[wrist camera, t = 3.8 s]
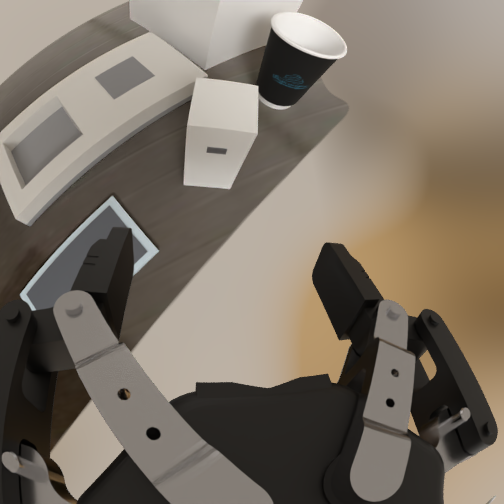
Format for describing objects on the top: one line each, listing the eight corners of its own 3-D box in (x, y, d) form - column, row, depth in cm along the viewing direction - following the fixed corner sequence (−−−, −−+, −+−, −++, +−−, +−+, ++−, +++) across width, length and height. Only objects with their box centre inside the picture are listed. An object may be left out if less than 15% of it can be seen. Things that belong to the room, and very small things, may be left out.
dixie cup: (264, 126, 28) (302, 58, 17) (232, 79, 28) (255, 11, 17) (316, 113, 30) (362, 57, 20) (284, 70, 30) (317, 12, 20)
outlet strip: (30, 226, 20) (15, 218, 17) (-1, 156, 19) (-13, 145, 16) (204, 92, 27) (208, 74, 24) (150, 47, 26) (150, 31, 23)
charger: (229, 190, 26) (257, 134, 16) (183, 186, 25) (186, 126, 15) (232, 149, 26) (258, 86, 17) (188, 145, 25) (196, 77, 16)
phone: (63, 350, 20) (59, 352, 19) (24, 294, 19) (19, 294, 18) (159, 252, 24) (158, 250, 23) (115, 199, 23) (112, 195, 22)
